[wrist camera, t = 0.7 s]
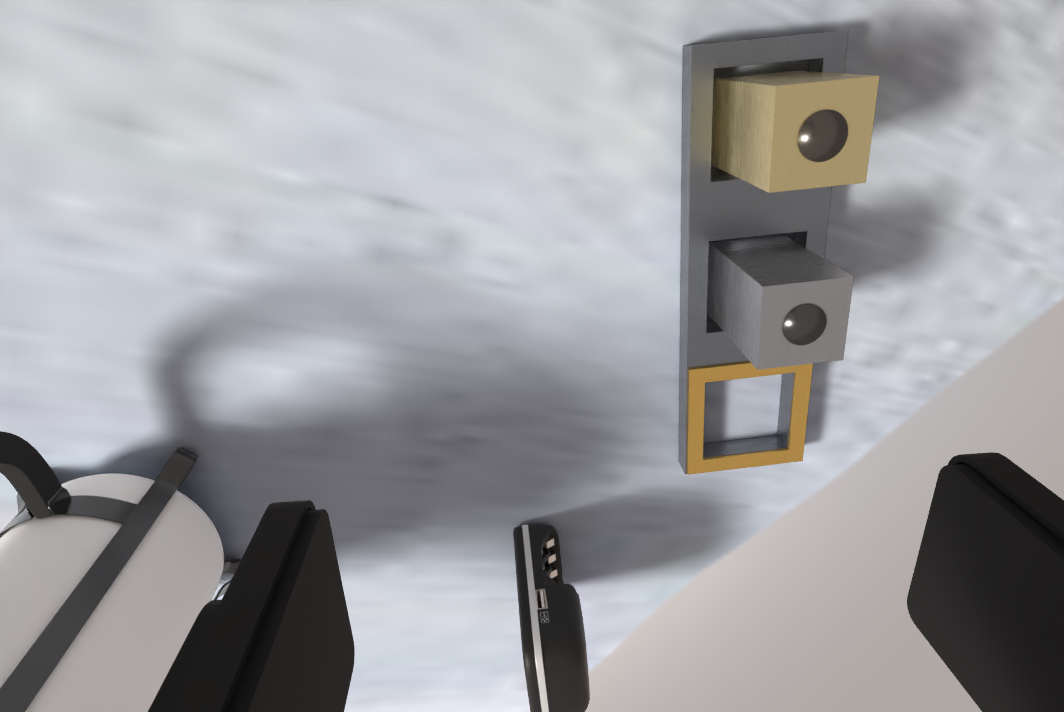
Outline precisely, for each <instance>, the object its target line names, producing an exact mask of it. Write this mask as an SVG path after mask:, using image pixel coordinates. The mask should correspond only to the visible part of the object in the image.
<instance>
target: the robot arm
mask: <svg viewBox="0 0 1064 712" xmlns="http://www.w3.org/2000/svg"><path fill="white" fill-rule="evenodd" d="M907 605H908V610H909V614H910V616H911V619H912V620H913V622H914V624H915V625H916V626H917V628H918V629H919V630H920V632H921V633H922V634H923V635H924V637H925V638H926V639H927V640H928V642H929V643H930V645H931V646H932V647H933V648H934V650H935V651H936V652H937V654H938V655H939V656H940V657H941V659H942V660H943V661H944V662H945V664H946V665H947V667H948V668H949V669H950V670H951V672H952V673H953V674H954V676H955V677H956V678H957V679H958V681H959V682H960V683H961V685H962V686H963V687H964V689H965V690H966V691H967V692H968V694H969V695H970V696H971V698H972V699H973V700H974V701H975V703H976V704H977V705H978V707H979V708H980V709H981V711H982V712H1064V500H1062V499H1061V498H1060V497H1058V496H1057V495H1056V494H1054V493H1053V492H1052V491H1050V490H1049V489H1048V488H1046V487H1045V486H1044V485H1042V484H1041V483H1040V482H1038V481H1037V480H1036V479H1034V478H1033V477H1032V476H1030V475H1029V474H1028V473H1026V472H1025V471H1024V470H1022V469H1021V468H1020V467H1018V466H1017V465H1015V464H1014V463H1013V462H1011V461H1010V460H1009V459H1008V458H1006V457H1005V456H1003V455H1001V454H999V453H978V454H964V455H957V456H955V457H953V458H952V459H951V460H950V461H949V463H948V465H947V466H944V467H943V468H942V469H941V470H940V473H939V475H938V479H937V483H936V487H935V491H934V495H933V499H932V503H931V507H930V511H929V515H928V519H927V523H926V527H925V530H924V534H923V538H922V542H921V546H920V550H919V554H918V558H917V562H916V566H915V569H914V573H913V577H912V581H911V585H910V589H909V593H908V598H907ZM353 666H354V641H353V636H352V631H351V626H350V621H349V616H348V611H347V606H346V601H345V596H344V591H343V586H342V581H341V576H340V571H339V566H338V561H337V556H336V551H335V546H334V541H333V536H332V531H331V526H330V521H329V517H328V513H327V511H326V510H324V509H321V510H316V509H315V506H314V504H313V502H312V501H310V500H307V501H293V502H279V503H272V504H270V505H269V506H268V508H267V509H266V511H265V513H264V515H263V517H262V519H261V521H260V523H259V525H258V527H257V529H256V531H255V533H254V535H253V537H252V540H251V542H250V544H249V546H248V548H247V550H246V552H245V554H244V556H243V558H242V560H241V562H240V564H239V566H238V568H237V570H236V572H235V574H234V576H233V578H232V580H231V582H230V584H229V586H228V588H227V590H226V592H225V594H224V596H223V599H222V600H213V601H210V602H209V603H207V604H206V605H204V607H203V608H202V610H201V611H200V613H199V614H198V616H197V618H196V620H195V622H194V624H193V626H192V628H191V630H190V632H189V633H188V635H187V637H186V639H185V641H184V643H183V645H182V647H181V649H180V651H179V653H178V655H177V656H176V658H175V660H174V662H173V664H172V666H171V668H170V670H169V672H168V674H167V676H166V678H165V679H164V681H163V683H162V685H161V687H160V689H159V691H158V693H157V695H156V697H155V699H154V701H153V702H152V704H151V706H150V708H149V710H148V712H344V709H345V704H346V699H347V695H348V690H349V686H350V681H351V676H352V672H353Z"/></svg>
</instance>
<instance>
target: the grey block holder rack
mask: <svg viewBox="0 0 1064 712" xmlns="http://www.w3.org/2000/svg"><path fill="white" fill-rule="evenodd" d="M847 39H848V31H831V32H821V33H810V34H800V35H790V36H780V37H769V38H759V39H749V40H738V41H728V42H718V43H708V44H697V45H687V46H683V74H682V174H681V273H680V372H679V462H680V464H681V467H682V469H683V471H684V473H685V474H696V473H705V472H713V471H721V470H730V469H738V468H747V467H755V466H764V465H772V464H780V463H789V462H797V461H803V452H804V442H805V433H806V424H807V414H808V405H809V396H810V386H811V377H812V368H813V363H812V364H803V365H795V366H786V367H777V368H768V369H759V370H757V369H756V368H755V367H754V366H753V364H752V363H751V362H750V361H749V360H748V359H747V358H746V356H745V355H744V354H743V353H742V352H741V351H740V350H739V348H738V347H737V346H736V345H735V344H734V343H733V342H732V340H731V339H730V338H729V337H728V336H727V335H726V334H725V332H724V331H723V330H722V329H721V328H720V327H719V326H718V325H717V323H716V322H707V288H708V253H709V241H716V240H726V239H735V238H744V237H754V236H763V235H772V234H782V233H791V232H794V241H795V242H797V243H799V244H800V245H802V246H804V247H805V248H807V249H809V250H810V251H812V252H814V253H815V254H817V255H819V256H820V257H822V258H823V259H824V255H825V245H826V236H827V226H828V217H829V208H830V198H831V189H832V186H829V187H819V188H810V189H800V190H790V191H781V192H771V193H768V192H766V191H764V190H762V189H760V188H758V187H756V186H754V185H752V184H750V183H748V182H746V181H744V180H742V179H739V178H737V177H735V176H733V175H731V174H727V175H717V176H711V149H712V114H713V79H714V68H724V67H734V66H744V65H755V64H765V63H775V62H785V61H795V60H805V59H809V68H808V71H811V72H827V73H843V74H844V67H845V58H846V49H847ZM776 374H782V384H781V396H780V407H779V419H778V431H777V435H774V436H765V437H757V438H748V439H740V440H731V441H723V442H714V443H705V444H703V436H704V401H705V383H706V382H715V381H723V380H732V379H741V378H750V377H758V376H767V375H776Z"/></svg>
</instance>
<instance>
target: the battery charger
mask: <svg viewBox="0 0 1064 712" xmlns="http://www.w3.org/2000/svg"><path fill="white" fill-rule="evenodd" d="M513 535H514V548H515V561H516V575H517V589H518V602H519V615H520V628H521V640H522V651H523V660H524V668H525V676H526V683H527V690H528V697H529V704H530V711H531V712H585V710H586V709H587V707H588V704H589V699H590V698H589V696H590V695H589V694H590V693H589V677H588V665H587V653H586V641H585V633H584V625H583V617H582V611H581V605H580V599H579V595H578V594H577V592H576V590H575V588H574V587H573V586H572V585H570V584H565V583H563V579H562V568H561V558H560V548H559V540H558V535H557V532H556V530H555V529H554V528H553V527H551V526H547V525H530V526H528V525H522V527H516V528H515V529H514V531H513Z"/></svg>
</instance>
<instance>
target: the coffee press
mask: <svg viewBox="0 0 1064 712" xmlns="http://www.w3.org/2000/svg"><path fill="white" fill-rule="evenodd" d="M197 458H198V457H197V456H195V455H193V454H191V453H189V452H187V451H185V450H182V449H180V448H177V449H176V451H175V452H174V454H173V455H172V457H171V458H170V460H169V461H168V463H167V464H166V466H165V467H164V469H163V470H162V472H161V473H160V474H159V476H158V477H157V479H156V480H152V479H148V478H144V477H140V476H135V475H128V474H98V475H91V476H86V477H81V478H77V479H74V480H71V481H68V482H65V483H63V484H60V482H59V480H58V479H57V477H56V476H55V474H54V472H53V471H52V469H51V468H50V467H49V465H48V464H47V462H46V461H45V460H44V458H43V457H42V456H41V455H40V454H39V453H38V451H37V450H36V449H35V448H34V447H33V446H31V445H30V444H29V443H28V442H27V441H25V440H24V439H22V438H20V437H19V436H16V435H13V434H11V433H6V432H1V431H0V472H1V473H2V474H3V475H4V476H5V477H6V478H7V479H8V480H9V481H10V483H11V484H12V485H13V487H14V488H15V489H16V491H17V492H18V494H17V503H18V515H17V516H16V517H15V518H14V519H13V520H12V521H11V522H10V523H9V524H8V525H7V526H6V527H5V528H4V529H3V530H2V531H1V532H0V712H148V710H149V708H150V706H151V704H152V702H153V701H154V699H155V697H156V695H157V693H158V691H159V689H160V687H161V685H162V683H163V681H164V679H165V678H166V676H167V674H168V672H169V670H170V668H171V666H172V664H173V662H174V660H175V658H176V656H177V655H178V653H179V651H180V649H181V647H182V645H183V643H184V641H185V639H186V637H187V635H188V633H189V632H190V630H191V628H192V626H193V624H194V622H195V620H196V618H197V616H198V614H199V613H200V611H201V610H202V608H203V607H204V605H206V604H207V603H209V602H210V601H211V600H212V597H213V595H214V593H215V591H216V589H217V586H218V584H219V581H220V579H221V576H222V574H223V573H233V574H235V572H236V570H237V568H238V566H239V564H240V562H241V560H240V559H231V560H227V561H224V553H223V547H222V543H221V539H220V537H219V534H218V532H217V530H216V528H215V526H214V524H213V523H212V521H211V520H210V518H209V517H208V516H207V515H206V513H205V512H204V511H203V510H202V509H201V508H200V507H199V506H198V505H197V504H196V503H194V502H193V501H192V500H191V499H189V498H188V497H187V496H185V495H184V494H182V493H181V492H179V491H177V490H178V489H179V487H180V485H181V484H182V482H183V481H184V479H185V477H186V476H187V474H188V473H189V471H190V470H191V468H192V466H193V465H194V463H195V462H196V460H197ZM25 509H27V510H25ZM230 582H231V580H230V581H229V582H227V583H225V584H224V585H223V586H222V587H221V589H220V590H219V592H218V593H217V595H216V596H215V598H214V599H213V600H217V598H218V597H220V596H221V595H223V594H225V592H226V590H227V588H228V586H229V584H230Z"/></svg>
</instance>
